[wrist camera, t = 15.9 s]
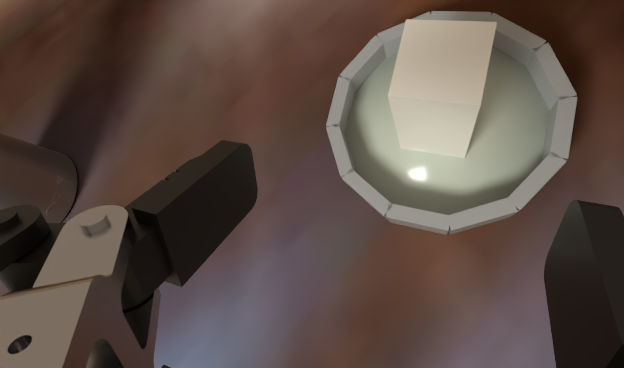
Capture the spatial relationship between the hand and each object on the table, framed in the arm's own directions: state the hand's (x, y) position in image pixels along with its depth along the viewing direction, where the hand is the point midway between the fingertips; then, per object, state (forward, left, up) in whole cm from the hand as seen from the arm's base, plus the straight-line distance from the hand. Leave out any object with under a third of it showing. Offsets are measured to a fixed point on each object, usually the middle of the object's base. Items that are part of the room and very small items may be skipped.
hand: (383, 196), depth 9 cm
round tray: (0, +9, -19) cm, 21 cm away
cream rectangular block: (0, +9, -18) cm, 20 cm away
